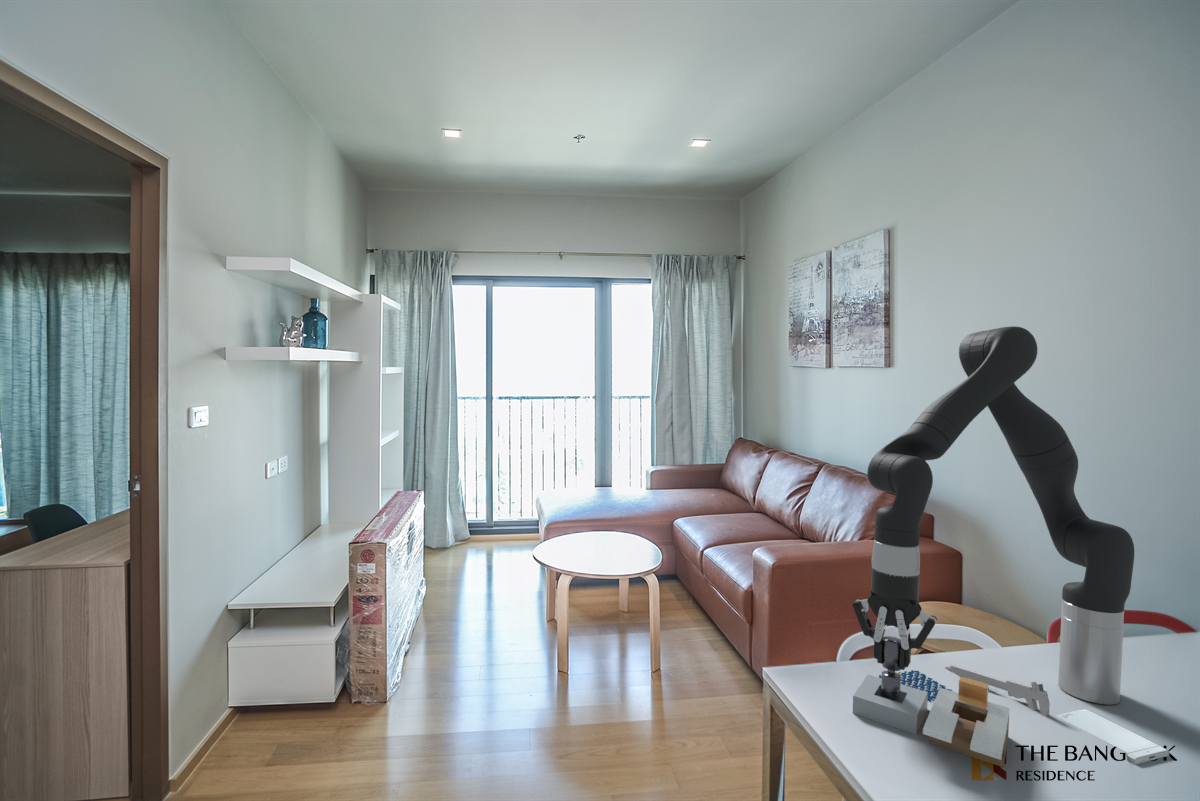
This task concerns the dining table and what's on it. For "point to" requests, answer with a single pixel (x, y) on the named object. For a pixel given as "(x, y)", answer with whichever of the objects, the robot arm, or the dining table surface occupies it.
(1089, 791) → the dining table surface
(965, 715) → the socket block
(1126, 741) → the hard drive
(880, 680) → the block
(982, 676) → the caliper
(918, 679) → the woven mat
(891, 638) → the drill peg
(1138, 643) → the dining table surface
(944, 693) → the plate
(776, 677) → the dining table surface
